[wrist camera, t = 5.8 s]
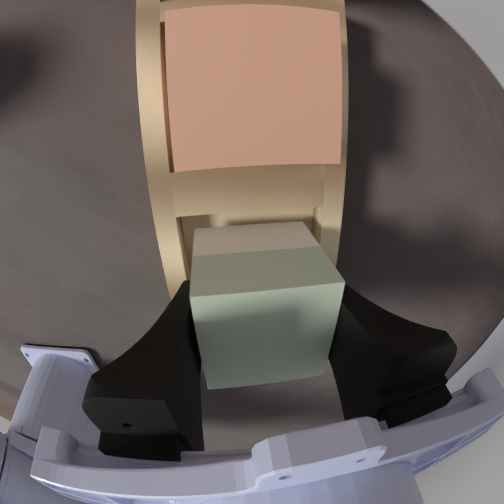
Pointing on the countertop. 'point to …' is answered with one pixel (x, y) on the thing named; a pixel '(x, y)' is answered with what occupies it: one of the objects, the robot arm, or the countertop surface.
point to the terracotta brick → (253, 86)
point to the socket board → (232, 178)
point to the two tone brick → (262, 303)
